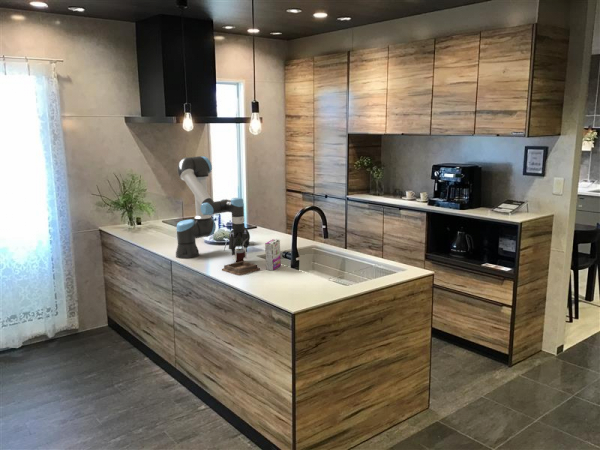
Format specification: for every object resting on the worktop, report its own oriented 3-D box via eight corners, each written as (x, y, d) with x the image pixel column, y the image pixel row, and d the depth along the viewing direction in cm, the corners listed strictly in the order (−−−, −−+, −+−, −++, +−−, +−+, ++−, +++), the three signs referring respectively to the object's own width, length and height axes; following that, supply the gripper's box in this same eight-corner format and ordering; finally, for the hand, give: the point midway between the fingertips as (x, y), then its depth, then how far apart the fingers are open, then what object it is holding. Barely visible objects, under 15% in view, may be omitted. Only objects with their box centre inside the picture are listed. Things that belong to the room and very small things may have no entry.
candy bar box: (273, 265, 316) (272, 239, 313) (280, 265, 314) (280, 239, 311) (265, 270, 306) (264, 243, 302) (273, 270, 304) (272, 243, 301)
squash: (222, 238, 368) (235, 223, 364) (230, 235, 383) (242, 220, 379) (237, 252, 367) (250, 237, 363) (244, 248, 382) (256, 233, 377)
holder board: (221, 270, 307) (221, 265, 306) (243, 264, 318) (243, 260, 317) (238, 275, 295) (238, 270, 295) (259, 269, 306) (259, 264, 306)
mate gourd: (231, 262, 325) (230, 238, 322) (241, 259, 330) (240, 236, 327) (239, 264, 320) (238, 240, 317) (249, 261, 325) (248, 238, 322)
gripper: (228, 226, 310) (230, 262, 315) (254, 221, 324) (255, 256, 328) (221, 224, 316) (223, 260, 320) (247, 219, 329) (248, 254, 334)
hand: (239, 258), depth 324 cm, fingers closed on mate gourd, 7 cm apart
